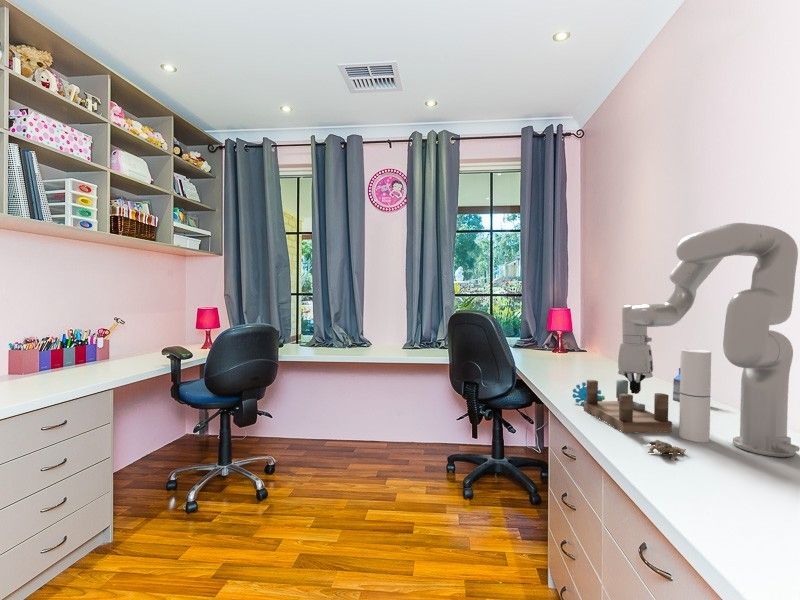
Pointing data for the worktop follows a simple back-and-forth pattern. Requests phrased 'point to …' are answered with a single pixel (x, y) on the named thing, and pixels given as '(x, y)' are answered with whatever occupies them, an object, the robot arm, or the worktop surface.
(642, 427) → the stool seat
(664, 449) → the frog figurine
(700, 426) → the cylindrical container
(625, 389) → the swing leg
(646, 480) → the worktop surface
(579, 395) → the blue spiky piece
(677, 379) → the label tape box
